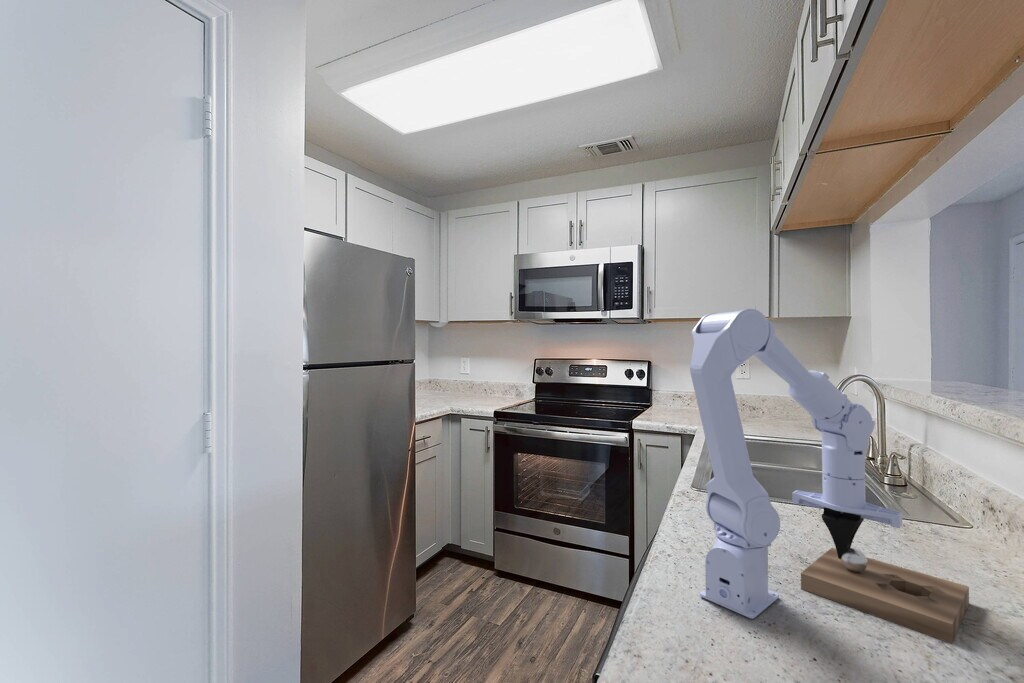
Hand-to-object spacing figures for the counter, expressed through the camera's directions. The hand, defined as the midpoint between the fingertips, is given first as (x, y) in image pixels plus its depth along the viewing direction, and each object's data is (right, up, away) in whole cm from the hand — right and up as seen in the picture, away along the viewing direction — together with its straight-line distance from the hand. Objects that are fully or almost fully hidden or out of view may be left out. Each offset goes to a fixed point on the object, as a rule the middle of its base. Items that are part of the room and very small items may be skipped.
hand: (844, 557), depth 75 cm
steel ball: (+1, 0, -1) cm, 1 cm away
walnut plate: (+3, -4, -4) cm, 6 cm away
